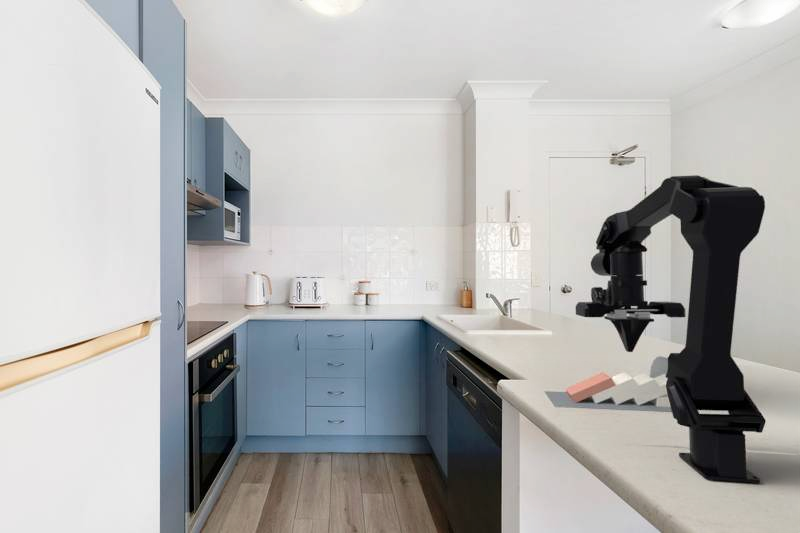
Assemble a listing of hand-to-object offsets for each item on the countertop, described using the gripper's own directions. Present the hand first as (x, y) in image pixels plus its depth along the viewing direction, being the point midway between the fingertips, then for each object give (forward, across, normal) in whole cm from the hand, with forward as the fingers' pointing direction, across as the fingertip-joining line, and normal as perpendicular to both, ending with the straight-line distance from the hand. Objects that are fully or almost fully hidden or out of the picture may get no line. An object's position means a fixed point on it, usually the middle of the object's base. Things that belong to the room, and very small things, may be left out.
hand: (629, 351), depth 73 cm
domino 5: (+10, -6, -3) cm, 12 cm away
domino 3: (+10, +2, -4) cm, 11 cm away
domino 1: (+10, +11, -4) cm, 15 cm away
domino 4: (+10, -2, -4) cm, 11 cm away
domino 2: (+10, +6, -4) cm, 13 cm away
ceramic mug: (+12, -17, -13) cm, 24 cm away
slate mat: (+12, +3, -4) cm, 13 cm away
